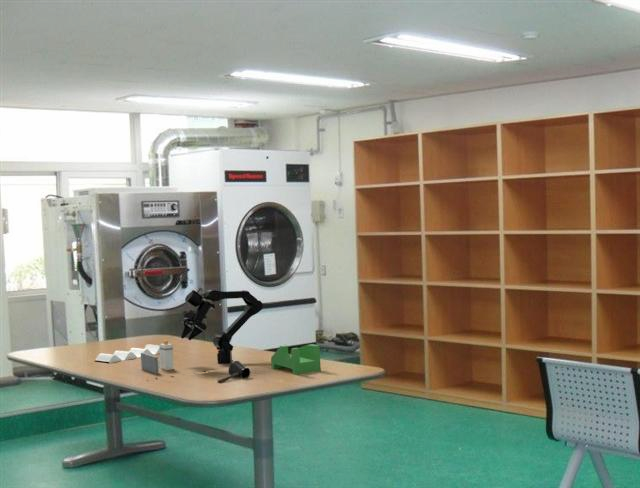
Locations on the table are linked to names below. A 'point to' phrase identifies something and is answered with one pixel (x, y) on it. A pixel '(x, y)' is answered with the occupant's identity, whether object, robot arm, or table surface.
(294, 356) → the green cradle stand
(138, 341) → the table surface
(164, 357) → the block
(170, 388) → the table surface
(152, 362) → the grey block
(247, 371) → the coffee pot
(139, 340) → the table surface
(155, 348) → the white zigzag rack
